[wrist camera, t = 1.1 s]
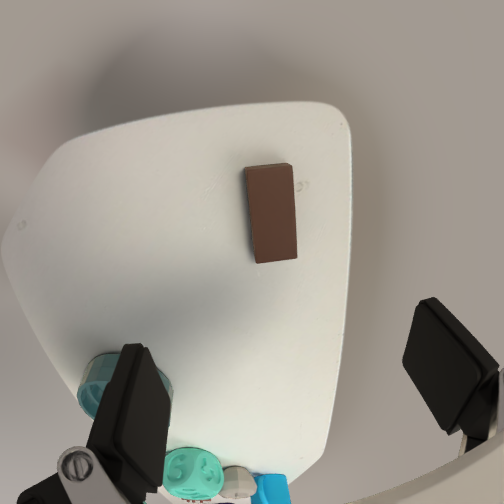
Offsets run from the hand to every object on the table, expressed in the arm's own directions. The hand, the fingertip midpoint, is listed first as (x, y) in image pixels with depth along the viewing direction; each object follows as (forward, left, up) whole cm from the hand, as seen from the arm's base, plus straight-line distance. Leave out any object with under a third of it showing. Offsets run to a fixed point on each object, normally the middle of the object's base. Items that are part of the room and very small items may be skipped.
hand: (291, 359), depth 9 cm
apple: (+36, -34, -18) cm, 53 cm away
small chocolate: (+1, +1, -17) cm, 17 cm away
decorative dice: (+26, -35, -18) cm, 48 cm away
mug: (+45, -34, -18) cm, 59 cm away
